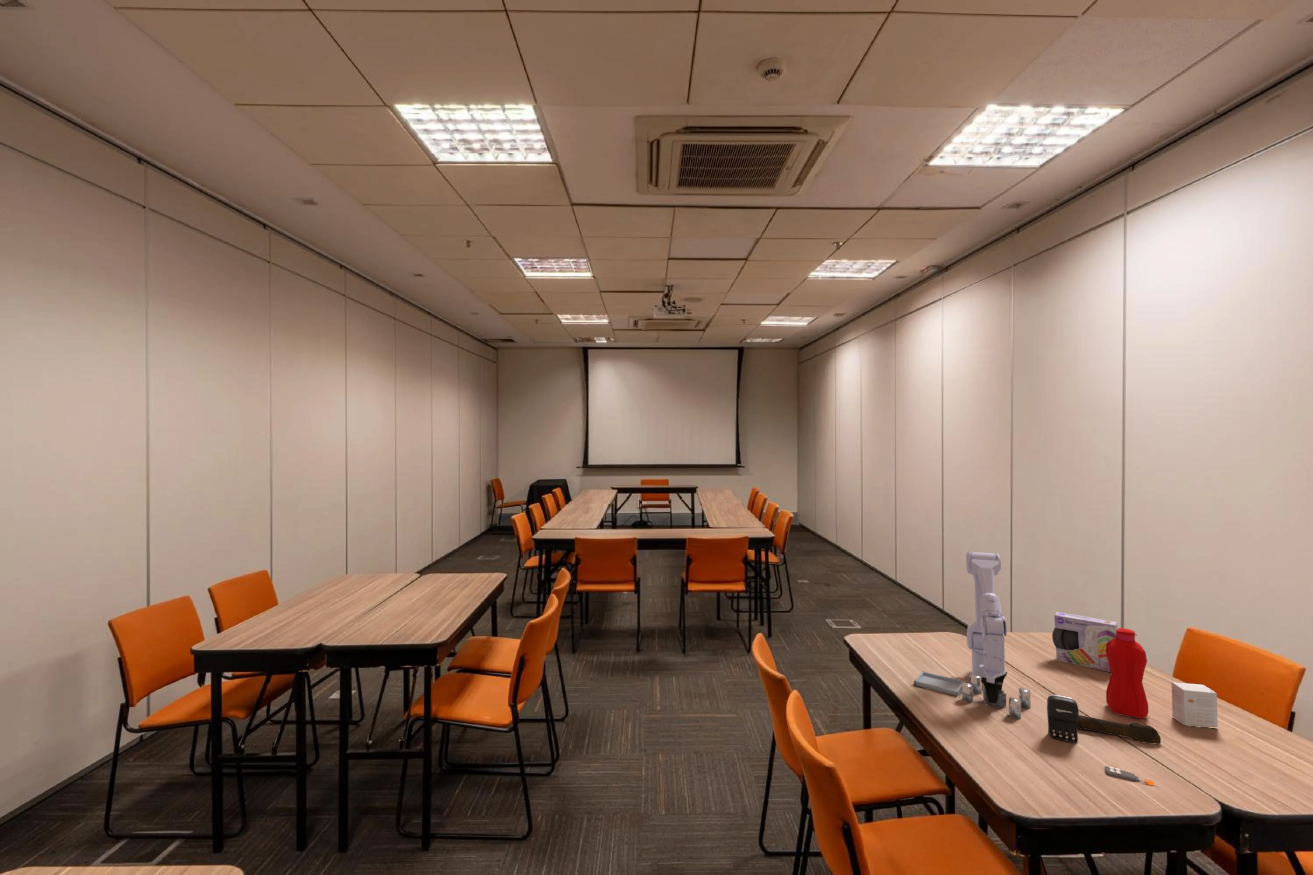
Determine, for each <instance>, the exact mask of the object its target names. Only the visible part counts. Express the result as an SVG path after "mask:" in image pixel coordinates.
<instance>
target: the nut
mask: <svg viewBox="0 0 1313 875" xmlns="http://www.w3.org/2000/svg"><path fill="white" fill-rule="evenodd" d="M982 697H983V699H982V700H983V702H984V703H985V705H988V706H991V707H992V708H999V709H1002V708H1003V707H1004V708H1006V707H1007V693H1005V691H1004V690H1003V689H1002V690H999V694H998V700H997V703H996V704H995V703H991V702H989V701H988V698H987V694H986V690H985V687H984V688H983V687H982Z"/></svg>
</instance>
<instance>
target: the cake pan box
mask: <svg viewBox="0 0 1313 875" xmlns="http://www.w3.org/2000/svg"><path fill="white" fill-rule="evenodd" d="M1053 619H1054V629H1053V631H1052V637H1051V638H1052V642H1053V645H1054V647H1055V651H1056V652H1055V653H1056V654H1055V655H1056V656H1055V657H1056V661H1059V662H1063V663H1068V664H1073V665H1077V666H1082V667H1086V668H1091V669H1094V670H1099V671H1105V672H1109V673H1110V668H1109V663H1108V659H1107V658H1106V643H1107V642H1108V641H1109V640H1111V639H1112V638H1114V635H1116V630H1117V629H1119V628H1118V621H1112V620H1106V619H1101V618H1095V617H1090V616H1086V615H1079V614H1078V615H1077V614H1072V613H1065V612H1060V611H1056V613H1054V617H1053ZM1104 645H1105V646H1104ZM1103 647H1104V648H1103ZM1102 649H1103V651H1102ZM1101 652H1102V654H1101ZM1100 655H1101V657H1100ZM1099 660H1100V664H1099ZM1106 665H1107V667H1106ZM1100 666H1101V667H1100ZM1105 667H1106V668H1105ZM1102 668H1105V669H1102Z"/></svg>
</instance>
